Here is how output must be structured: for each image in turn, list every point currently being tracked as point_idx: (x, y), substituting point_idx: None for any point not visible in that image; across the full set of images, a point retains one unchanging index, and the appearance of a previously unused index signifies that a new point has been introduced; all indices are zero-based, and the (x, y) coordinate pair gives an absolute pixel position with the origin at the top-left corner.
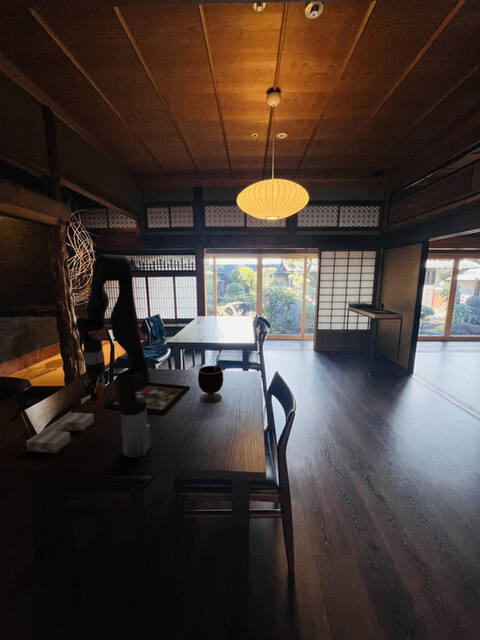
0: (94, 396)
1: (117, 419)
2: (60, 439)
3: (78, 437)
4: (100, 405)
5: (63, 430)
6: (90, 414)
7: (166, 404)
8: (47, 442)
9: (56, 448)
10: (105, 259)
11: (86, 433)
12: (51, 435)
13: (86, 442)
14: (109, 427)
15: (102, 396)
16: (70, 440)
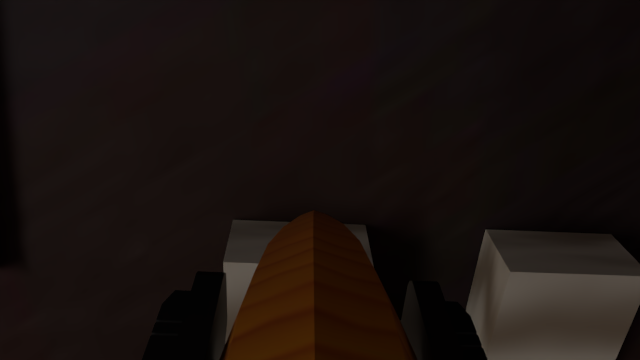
0: (463, 352)
1: (164, 40)
2: (599, 273)
3: (445, 205)
4: (320, 212)
5: None
6: (238, 276)
7: None
8: (623, 325)
9: (616, 249)
10: None
11: (396, 180)
12: (540, 352)
13: (516, 111)
14: (305, 43)
15: (325, 259)
16: (488, 231)
